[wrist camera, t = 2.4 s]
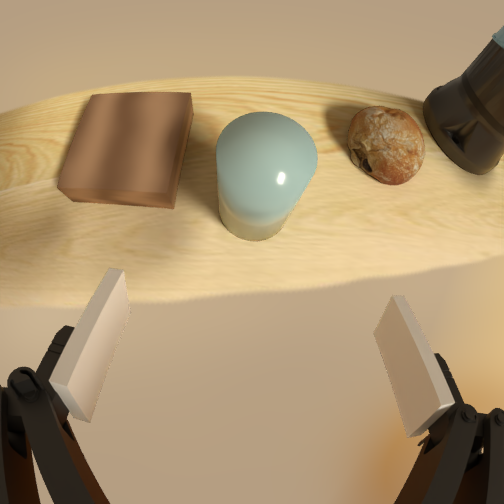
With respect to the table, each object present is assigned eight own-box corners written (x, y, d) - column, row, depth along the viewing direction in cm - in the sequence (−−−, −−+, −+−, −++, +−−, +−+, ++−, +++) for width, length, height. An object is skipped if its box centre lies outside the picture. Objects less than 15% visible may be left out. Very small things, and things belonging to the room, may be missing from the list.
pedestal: (193, 114, 33) (190, 92, 29) (173, 208, 30) (166, 193, 26) (102, 114, 32) (92, 94, 28) (73, 201, 29) (56, 187, 26)
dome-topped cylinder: (289, 180, 32) (316, 119, 21) (286, 244, 30) (317, 204, 20) (223, 173, 31) (223, 107, 21) (214, 237, 30) (209, 191, 19)
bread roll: (329, 150, 37) (330, 132, 30) (376, 99, 35) (386, 74, 27) (385, 202, 36) (399, 198, 29) (430, 149, 34) (452, 134, 26)
